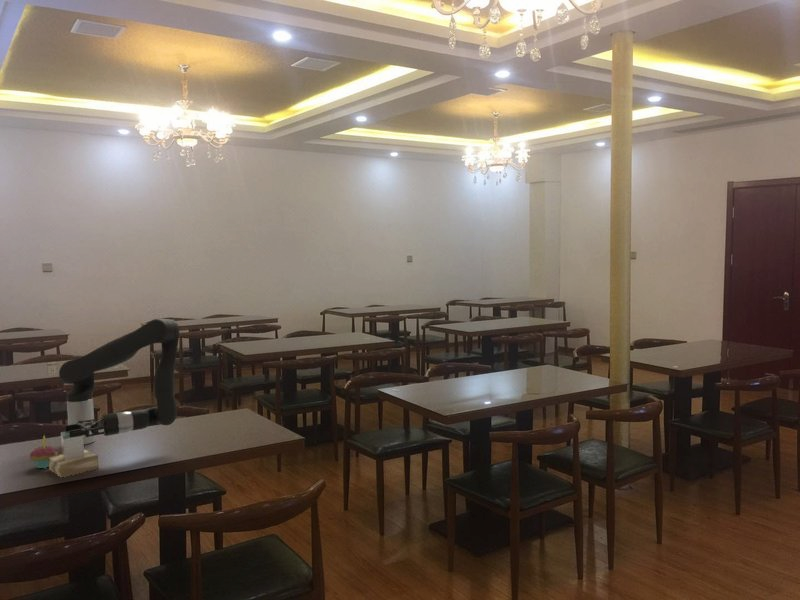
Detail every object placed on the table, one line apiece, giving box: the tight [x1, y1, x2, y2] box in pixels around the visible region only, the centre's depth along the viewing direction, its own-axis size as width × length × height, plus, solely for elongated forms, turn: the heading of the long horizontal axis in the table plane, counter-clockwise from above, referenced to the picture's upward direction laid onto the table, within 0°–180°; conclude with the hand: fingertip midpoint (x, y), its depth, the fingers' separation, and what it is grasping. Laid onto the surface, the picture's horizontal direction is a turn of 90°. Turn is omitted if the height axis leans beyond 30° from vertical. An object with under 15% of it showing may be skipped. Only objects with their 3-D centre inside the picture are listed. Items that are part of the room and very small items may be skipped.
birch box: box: [49, 448, 100, 478], centre depth 223 cm, size 12×12×5 cm
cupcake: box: [29, 434, 58, 469], centre depth 226 cm, size 9×8×12 cm
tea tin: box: [60, 431, 85, 461], centre depth 222 cm, size 6×6×8 cm
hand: (67, 431), depth 221 cm, fingers open, 8 cm apart
